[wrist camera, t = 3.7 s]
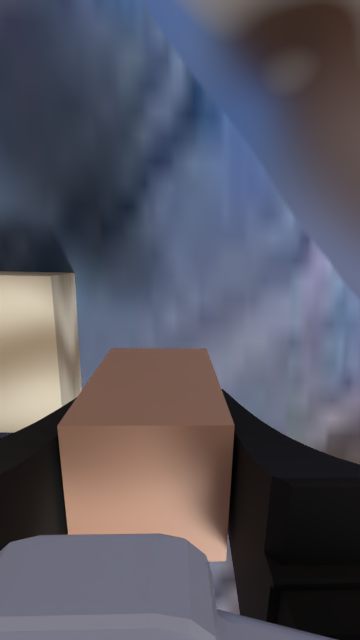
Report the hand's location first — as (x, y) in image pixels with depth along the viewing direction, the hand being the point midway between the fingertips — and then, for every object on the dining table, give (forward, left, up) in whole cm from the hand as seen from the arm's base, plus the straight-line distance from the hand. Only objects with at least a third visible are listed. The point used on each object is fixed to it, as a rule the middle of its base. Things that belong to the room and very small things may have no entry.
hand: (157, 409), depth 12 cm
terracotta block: (0, 0, -2) cm, 2 cm away
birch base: (+1, +11, -9) cm, 14 cm away
